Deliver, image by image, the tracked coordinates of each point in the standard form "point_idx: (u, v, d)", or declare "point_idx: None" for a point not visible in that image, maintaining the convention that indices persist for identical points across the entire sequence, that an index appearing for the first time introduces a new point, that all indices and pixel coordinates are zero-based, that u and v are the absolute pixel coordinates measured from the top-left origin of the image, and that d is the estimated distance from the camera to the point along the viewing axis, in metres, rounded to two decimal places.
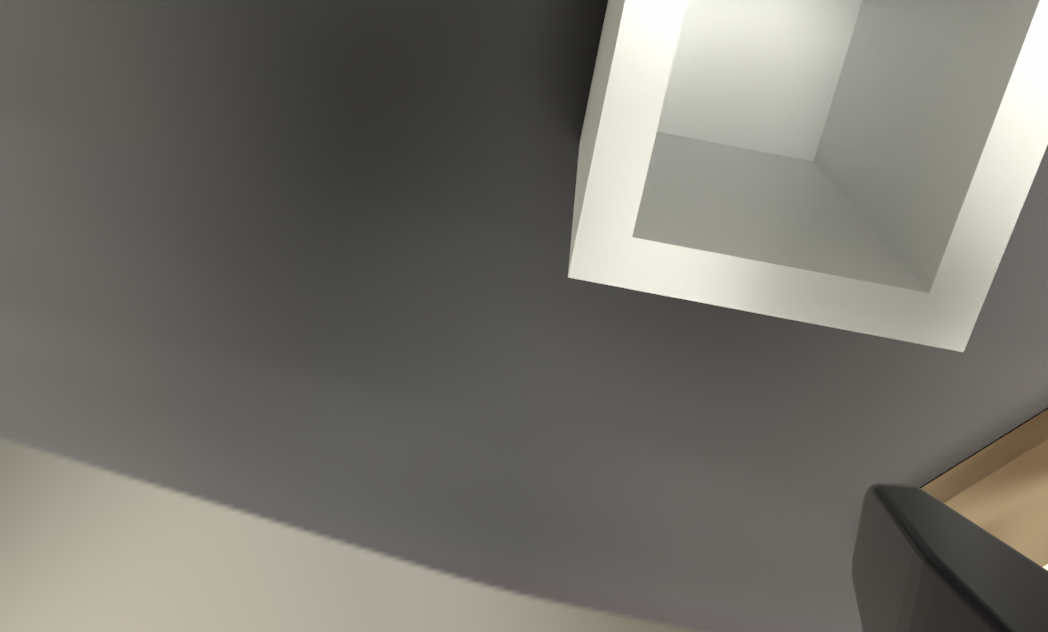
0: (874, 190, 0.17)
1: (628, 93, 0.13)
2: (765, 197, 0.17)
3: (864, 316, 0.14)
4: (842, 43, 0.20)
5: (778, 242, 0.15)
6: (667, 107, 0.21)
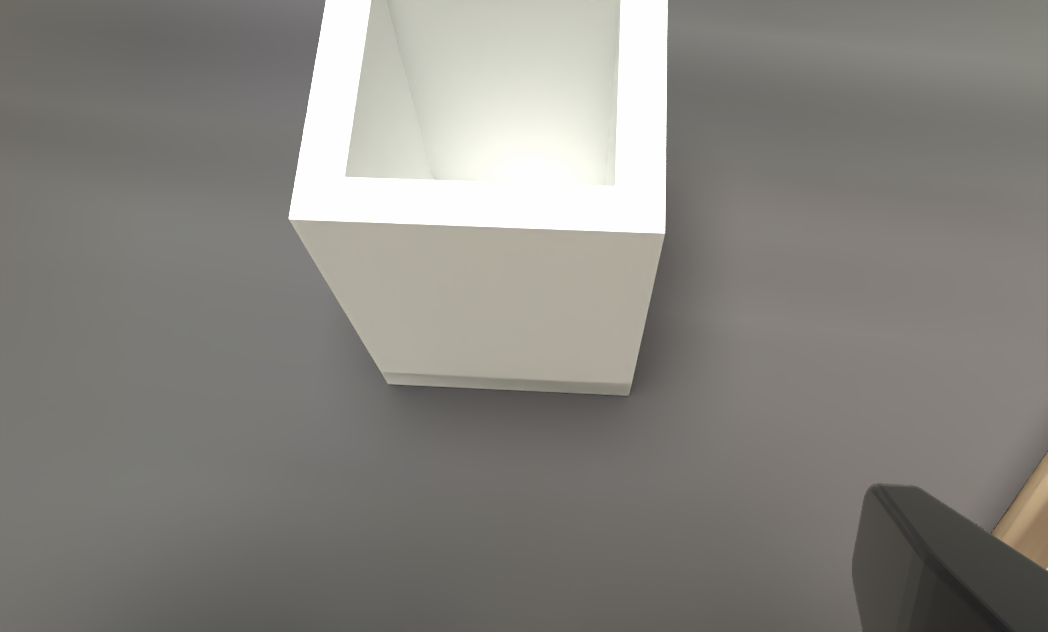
0: None
1: (331, 72, 0.16)
2: None
3: (564, 214, 0.15)
4: None
5: None
6: None
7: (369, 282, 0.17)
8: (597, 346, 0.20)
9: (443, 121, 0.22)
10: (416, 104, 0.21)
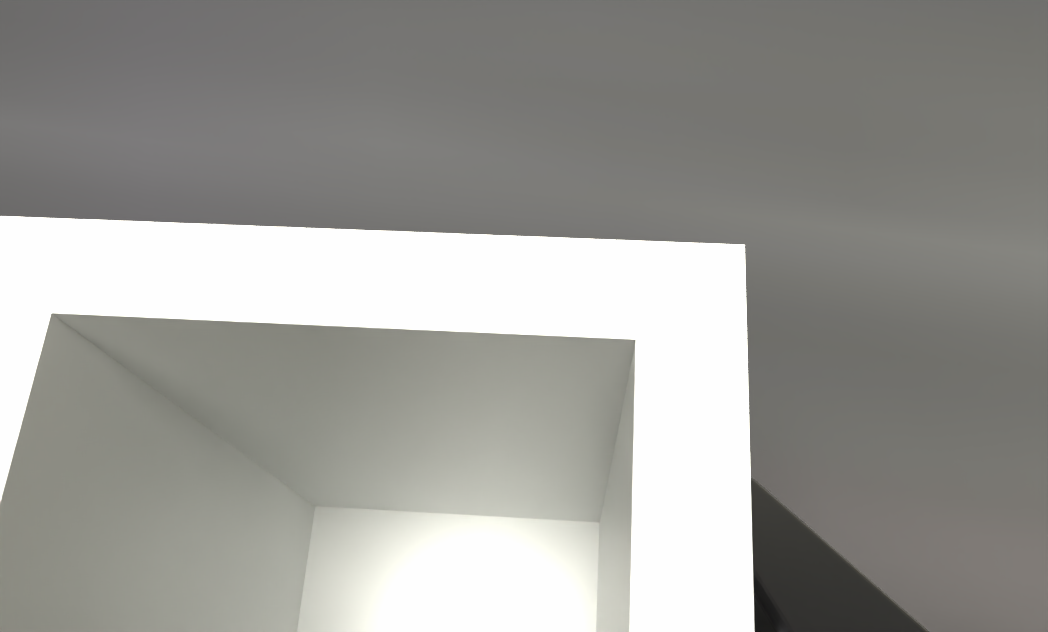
0: None
1: None
2: None
3: None
4: None
5: None
6: None
7: None
8: None
9: (303, 466, 0.12)
10: (244, 452, 0.11)
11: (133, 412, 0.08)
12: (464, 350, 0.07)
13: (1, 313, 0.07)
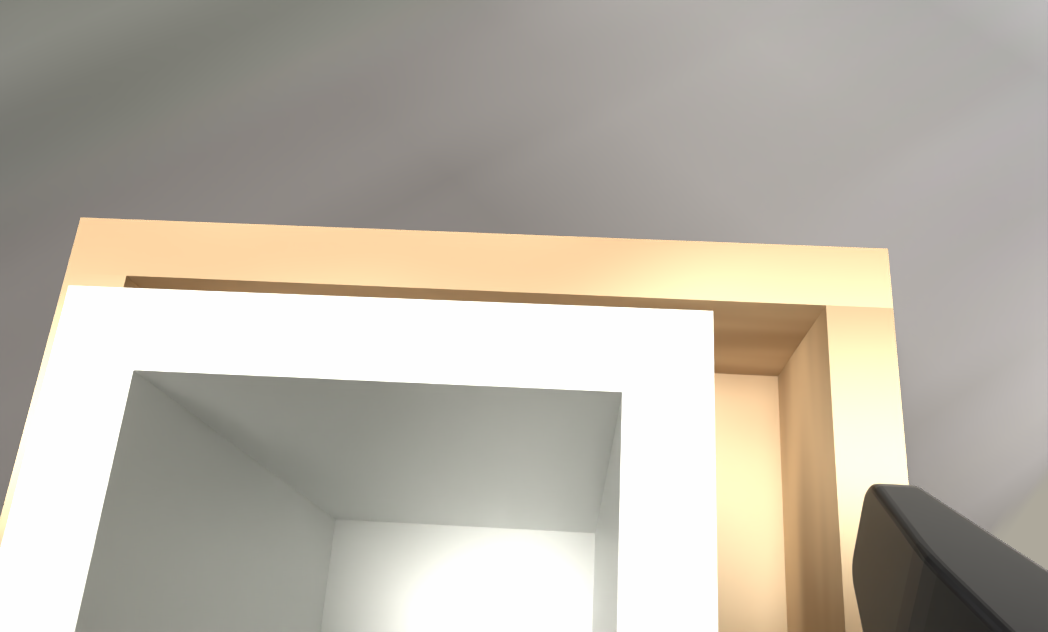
0: None
1: None
2: None
3: None
4: None
5: None
6: None
7: None
8: None
9: (329, 487, 0.13)
10: (278, 475, 0.13)
11: (192, 447, 0.10)
12: (479, 398, 0.09)
13: (91, 370, 0.08)
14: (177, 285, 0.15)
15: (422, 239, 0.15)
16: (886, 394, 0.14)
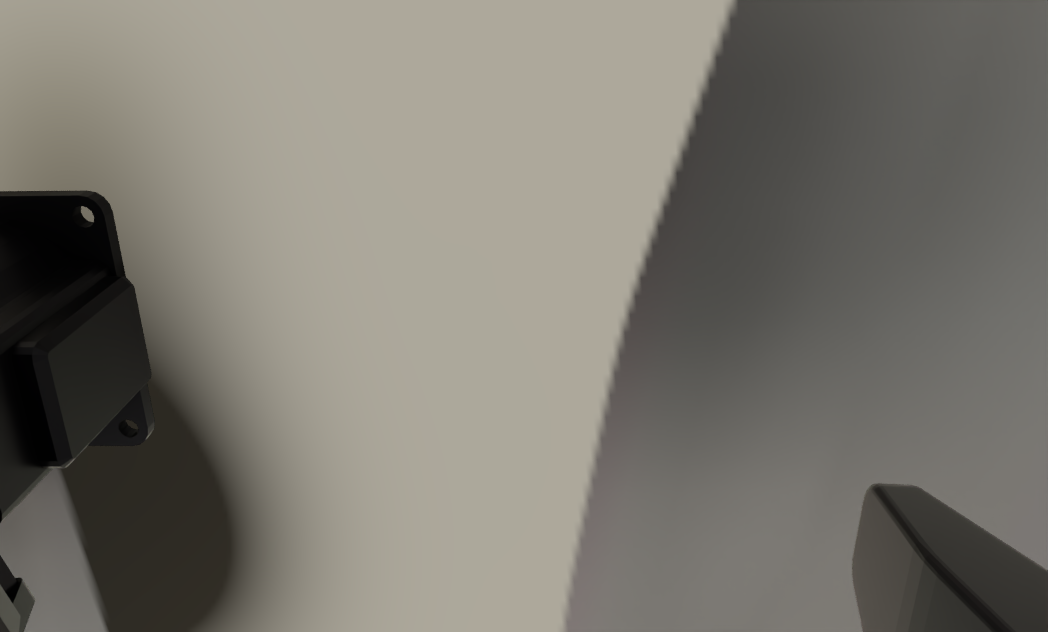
0: None
1: None
2: None
3: None
4: None
5: None
6: None
7: None
8: None
9: None
10: None
11: None
12: None
13: None
14: None
15: None
16: None
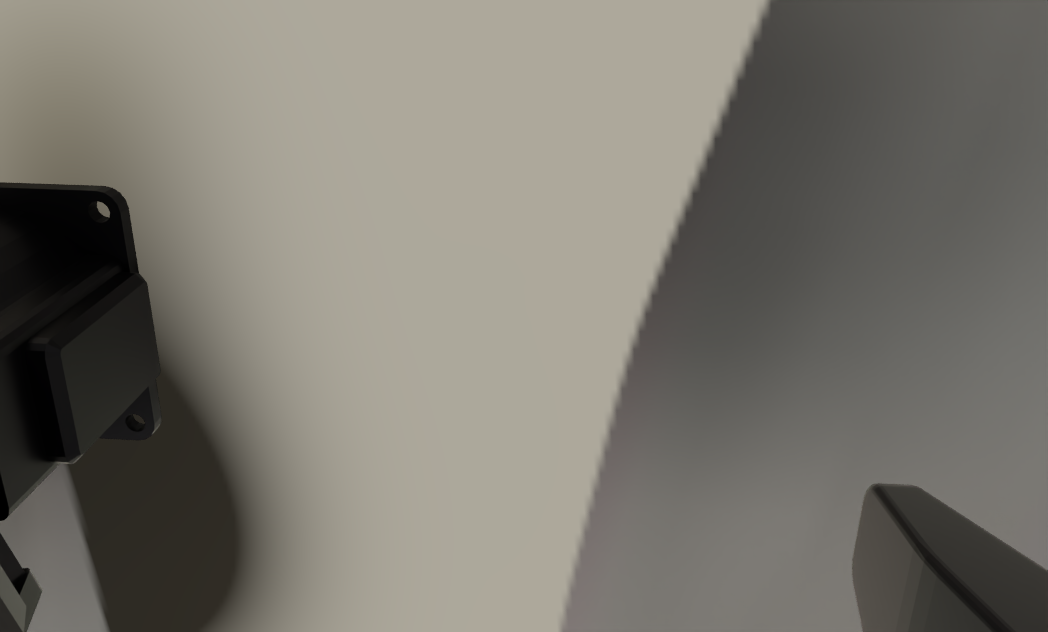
0: None
1: None
2: None
3: None
4: None
5: None
6: None
7: None
8: None
9: None
10: None
11: None
12: None
13: None
14: None
15: None
16: None
